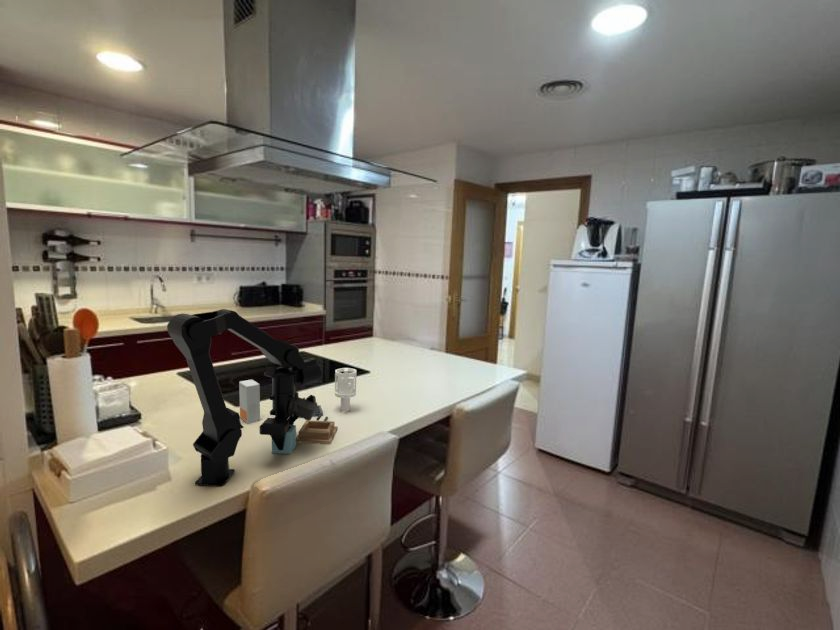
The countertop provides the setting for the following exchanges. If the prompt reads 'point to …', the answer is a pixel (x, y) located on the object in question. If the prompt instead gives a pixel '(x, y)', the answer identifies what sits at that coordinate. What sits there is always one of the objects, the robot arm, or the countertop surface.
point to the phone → (317, 411)
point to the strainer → (345, 386)
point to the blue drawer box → (287, 442)
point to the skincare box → (249, 400)
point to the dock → (316, 432)
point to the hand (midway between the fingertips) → (284, 445)
